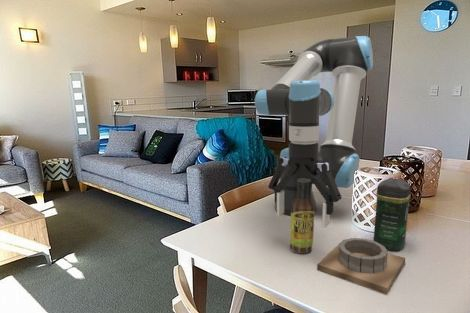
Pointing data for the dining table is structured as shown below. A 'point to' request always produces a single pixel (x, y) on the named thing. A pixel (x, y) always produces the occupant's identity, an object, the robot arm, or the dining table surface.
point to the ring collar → (363, 264)
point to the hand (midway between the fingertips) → (302, 219)
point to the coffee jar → (392, 213)
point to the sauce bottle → (302, 218)
